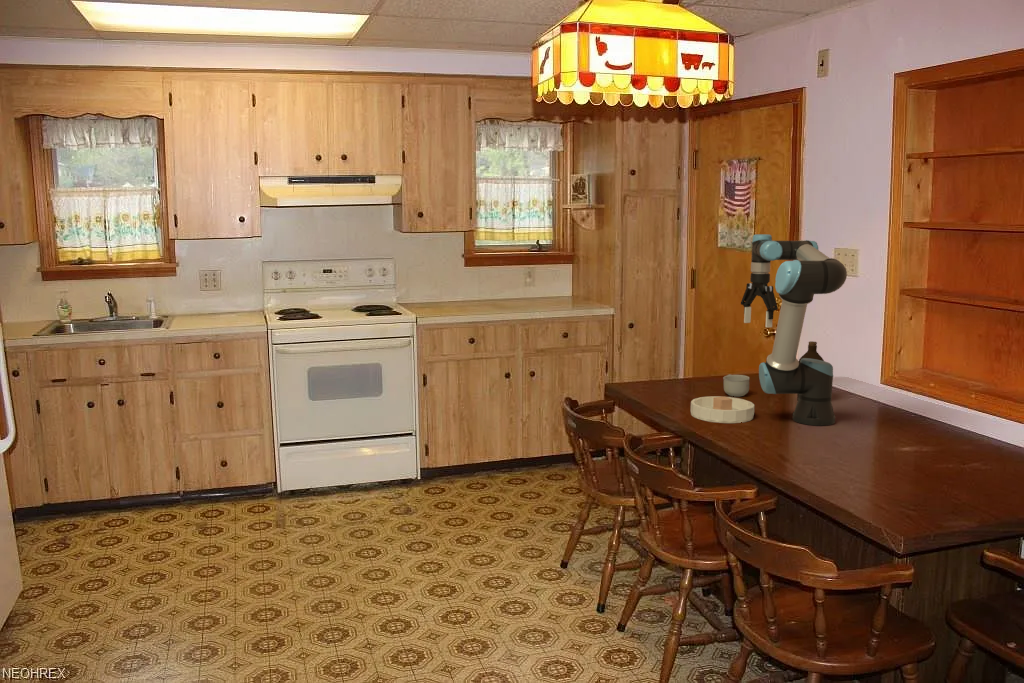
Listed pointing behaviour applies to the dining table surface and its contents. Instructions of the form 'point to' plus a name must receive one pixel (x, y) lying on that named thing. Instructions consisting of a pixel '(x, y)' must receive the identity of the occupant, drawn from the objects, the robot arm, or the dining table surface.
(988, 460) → the dining table surface
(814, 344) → the olive oil
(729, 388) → the teacup
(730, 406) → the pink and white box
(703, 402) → the bowl
